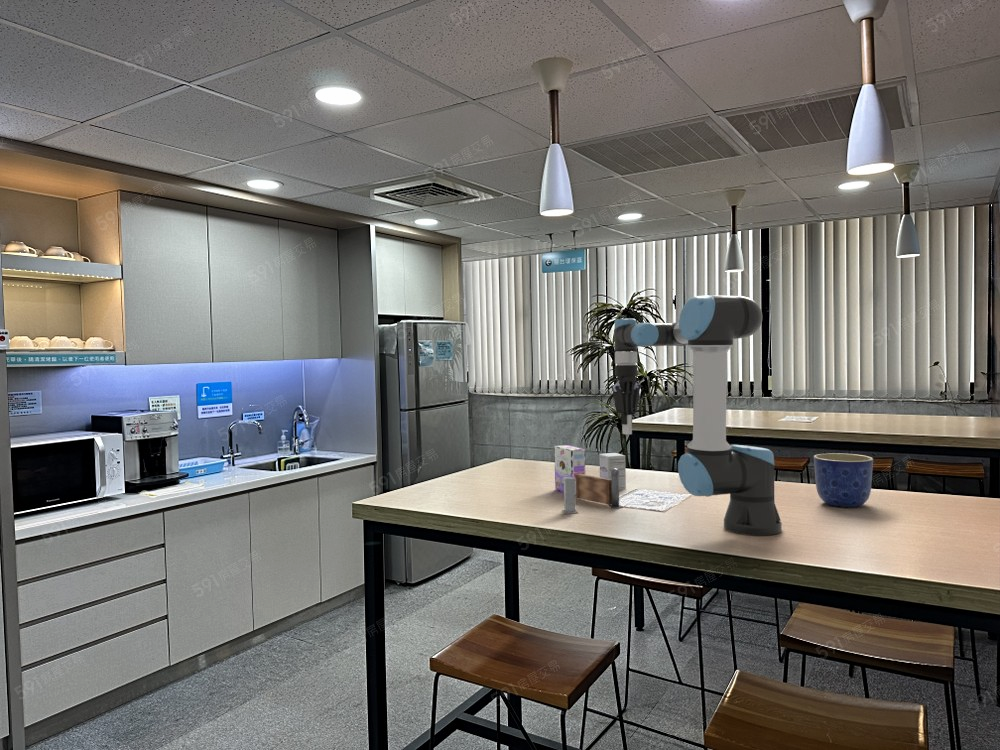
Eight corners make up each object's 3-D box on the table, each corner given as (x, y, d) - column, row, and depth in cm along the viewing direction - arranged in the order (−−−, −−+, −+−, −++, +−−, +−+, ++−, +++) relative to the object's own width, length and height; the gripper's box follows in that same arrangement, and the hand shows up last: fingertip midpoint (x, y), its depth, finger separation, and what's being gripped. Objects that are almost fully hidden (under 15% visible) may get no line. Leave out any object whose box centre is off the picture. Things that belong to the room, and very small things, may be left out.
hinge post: (622, 508, 218) (622, 469, 217) (611, 508, 217) (611, 469, 217) (619, 505, 221) (618, 467, 221) (608, 506, 221) (607, 467, 220)
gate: (612, 504, 221) (612, 479, 221) (609, 505, 220) (609, 480, 220) (579, 497, 233) (578, 473, 233) (575, 498, 232) (575, 474, 232)
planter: (859, 513, 204) (859, 463, 204) (804, 504, 218) (803, 457, 217) (882, 504, 215) (882, 456, 215) (828, 496, 228) (828, 451, 228)
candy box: (586, 495, 239) (585, 448, 239) (571, 496, 237) (571, 449, 237) (568, 488, 252) (567, 444, 252) (554, 489, 250) (553, 445, 250)
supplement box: (599, 487, 253) (598, 453, 252) (617, 485, 255) (616, 452, 255) (608, 490, 246) (607, 456, 245) (626, 489, 248) (626, 455, 248)
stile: (578, 513, 212) (577, 478, 212) (564, 513, 212) (564, 479, 211) (575, 510, 216) (574, 476, 215) (561, 511, 215) (561, 477, 215)
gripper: (630, 364, 236) (631, 431, 237) (604, 365, 228) (605, 434, 229) (647, 364, 230) (648, 433, 231) (621, 364, 222) (622, 436, 223)
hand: (627, 433), depth 230 cm, fingers closed
